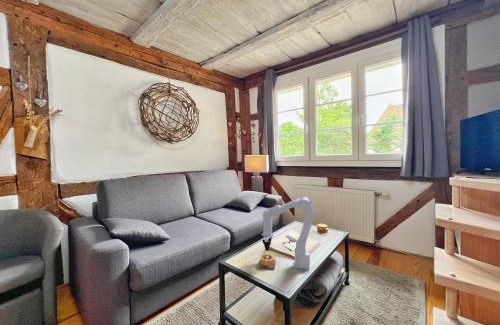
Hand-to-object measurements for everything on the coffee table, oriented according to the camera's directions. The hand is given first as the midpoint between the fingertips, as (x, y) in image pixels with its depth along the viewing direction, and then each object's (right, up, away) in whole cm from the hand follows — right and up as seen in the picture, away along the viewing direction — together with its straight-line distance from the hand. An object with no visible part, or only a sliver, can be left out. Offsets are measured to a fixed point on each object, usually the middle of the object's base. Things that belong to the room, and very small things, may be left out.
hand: (268, 247), depth 140 cm
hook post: (-1, -9, -3) cm, 9 cm away
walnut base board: (-1, -10, -3) cm, 10 cm away
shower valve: (+21, -8, +24) cm, 33 cm away
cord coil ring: (-1, -9, -2) cm, 9 cm away
